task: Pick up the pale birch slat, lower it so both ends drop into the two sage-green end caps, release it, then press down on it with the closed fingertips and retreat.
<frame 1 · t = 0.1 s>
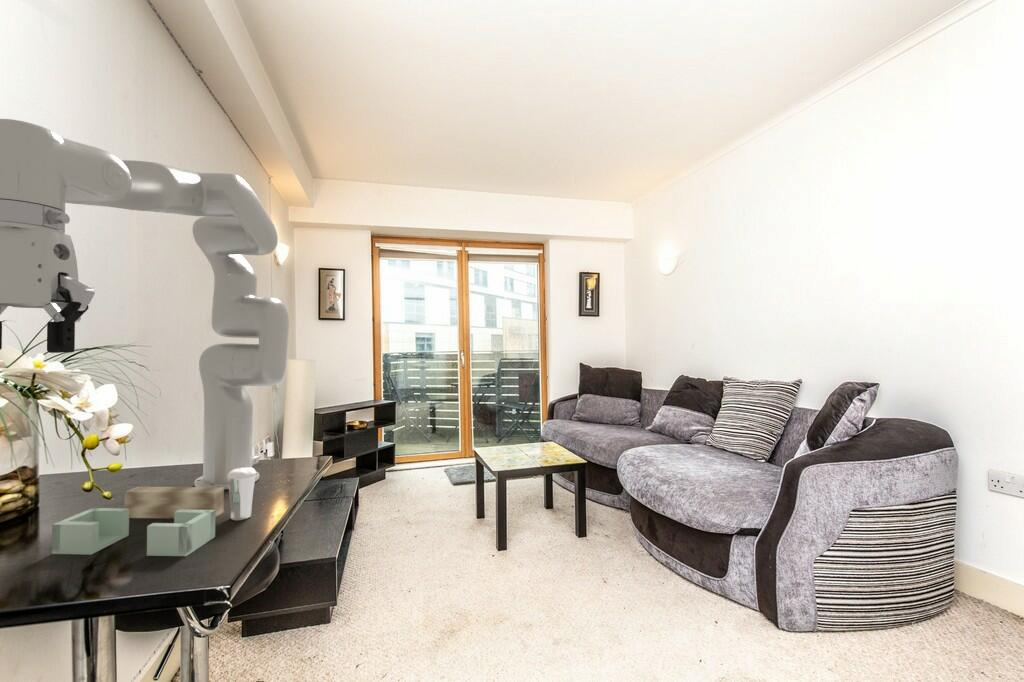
hand: (23, 351, 61), 31 cm above the table, tool pointing down, fingers open, 9 cm apart
milkshake: (241, 517, 87), on the table
endcap a: (92, 544, 74), on the table
endcap b: (182, 545, 74), on the table
slat: (174, 516, 87), on the table
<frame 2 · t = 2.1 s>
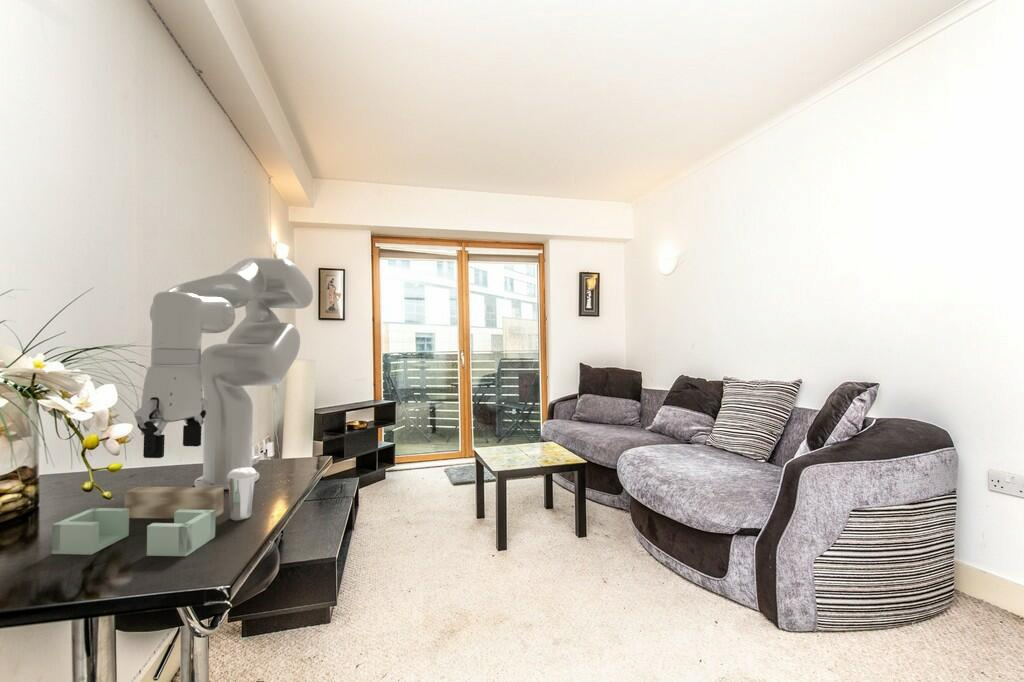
hand: (173, 451, 86), 12 cm above the table, tool pointing down, fingers open, 9 cm apart
nothing on the table moved.
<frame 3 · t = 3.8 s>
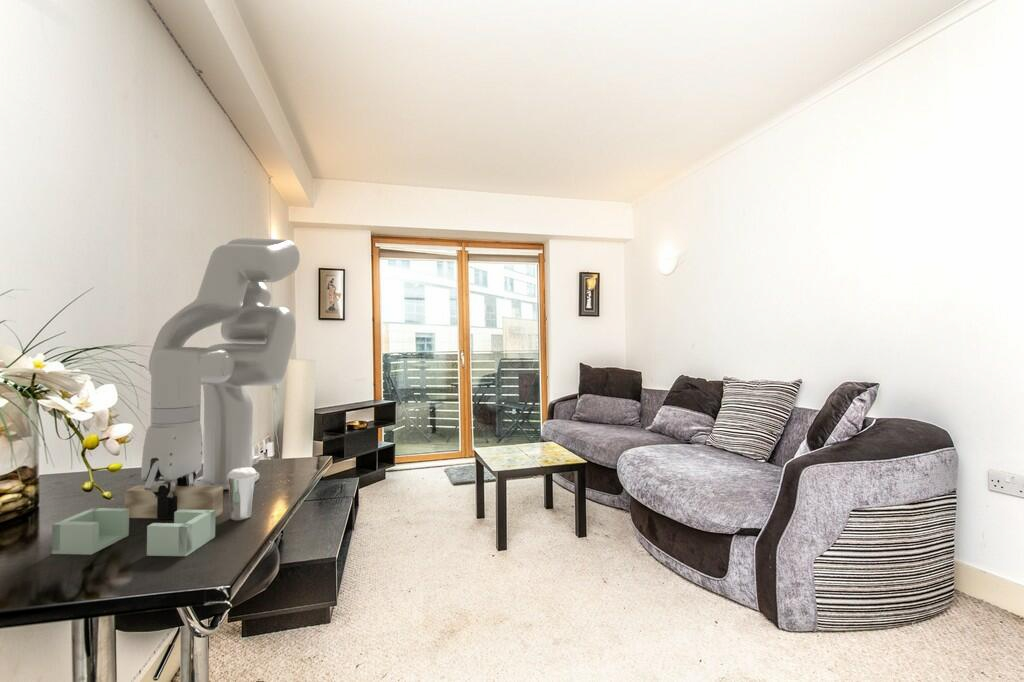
hand: (174, 513, 87), 0 cm above the table, tool pointing down, fingers closed on slat, 3 cm apart
slat: (174, 515, 87), on the table, touching gripper
everything else where it was.
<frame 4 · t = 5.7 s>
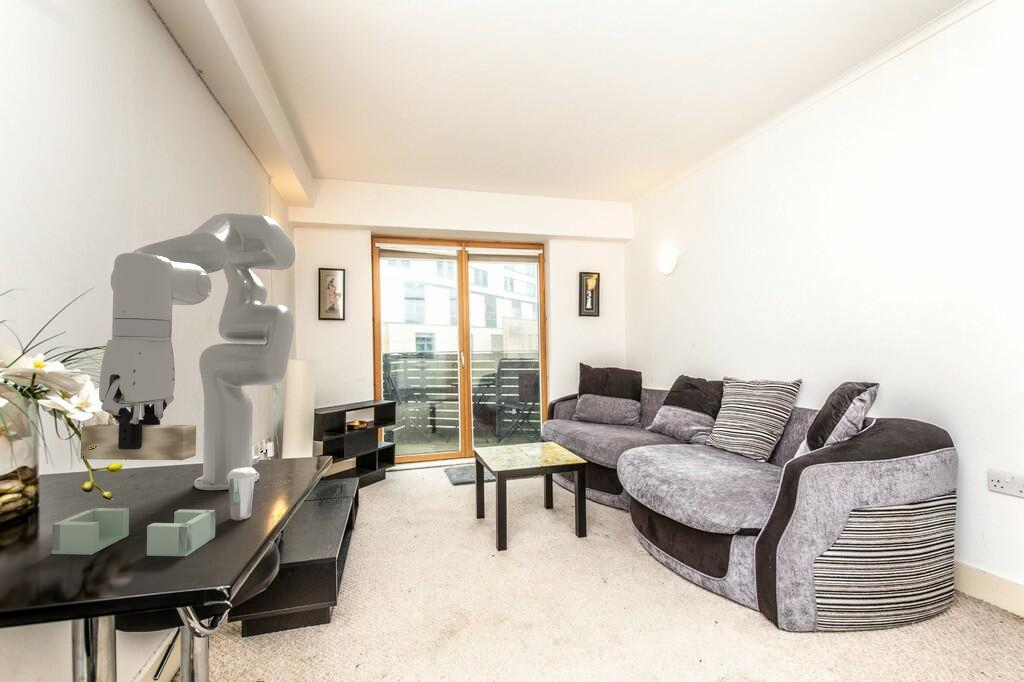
hand: (139, 445, 75), 16 cm above the table, tool pointing down, fingers closed on slat, 3 cm apart
slat: (139, 457, 75), point 14 cm above the table, touching gripper
everything else where it was.
when the fingers open (2 cm above the table, at t = 7.7 s): slat stays where it is, resting on endcap a, endcap b.
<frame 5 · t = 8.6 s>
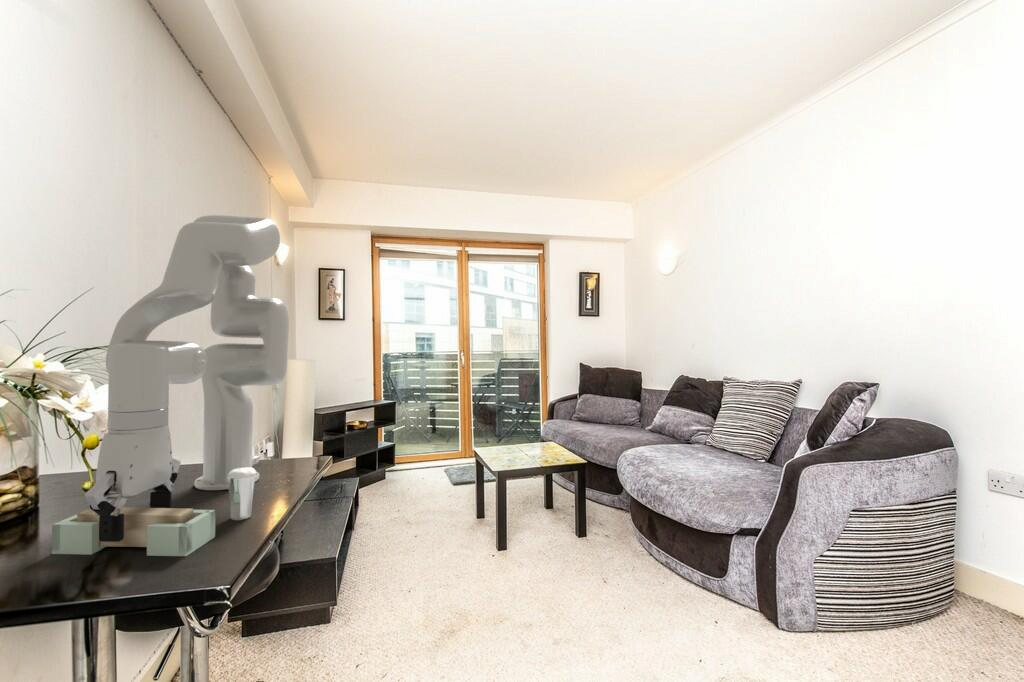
hand: (137, 527, 74), 3 cm above the table, tool pointing down, fingers open, 9 cm apart
slat: (136, 542, 74), resting on endcap a, endcap b
everything else where it was.
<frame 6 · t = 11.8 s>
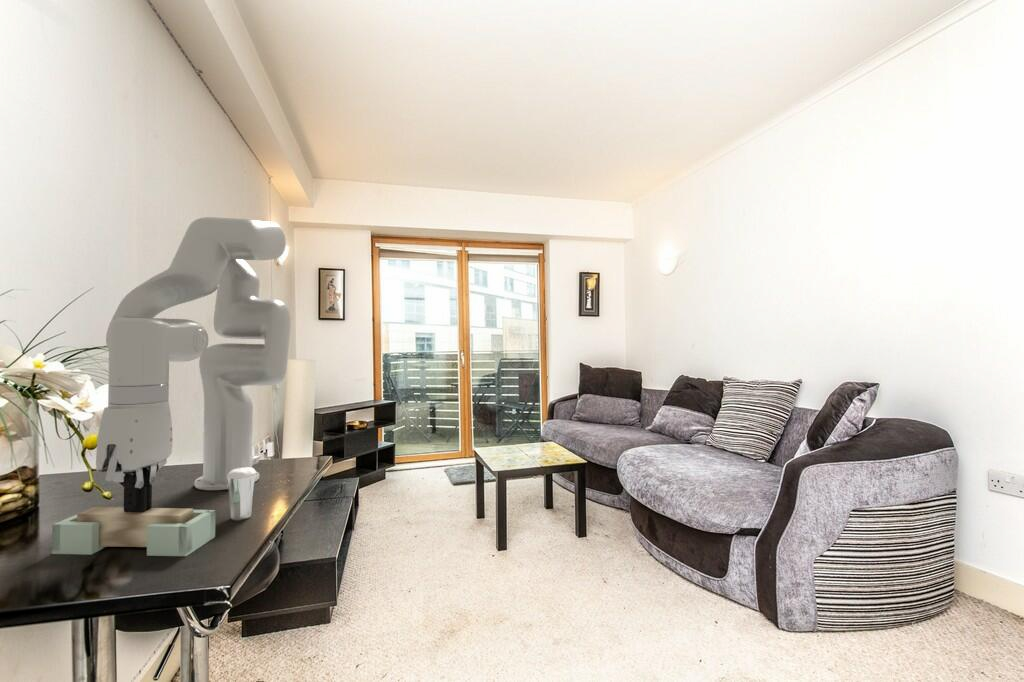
hand: (137, 510, 74), 6 cm above the table, tool pointing down, fingers closed
slat: (136, 542, 74), on the table, touching endcap a, endcap b, gripper
everything else where it was.
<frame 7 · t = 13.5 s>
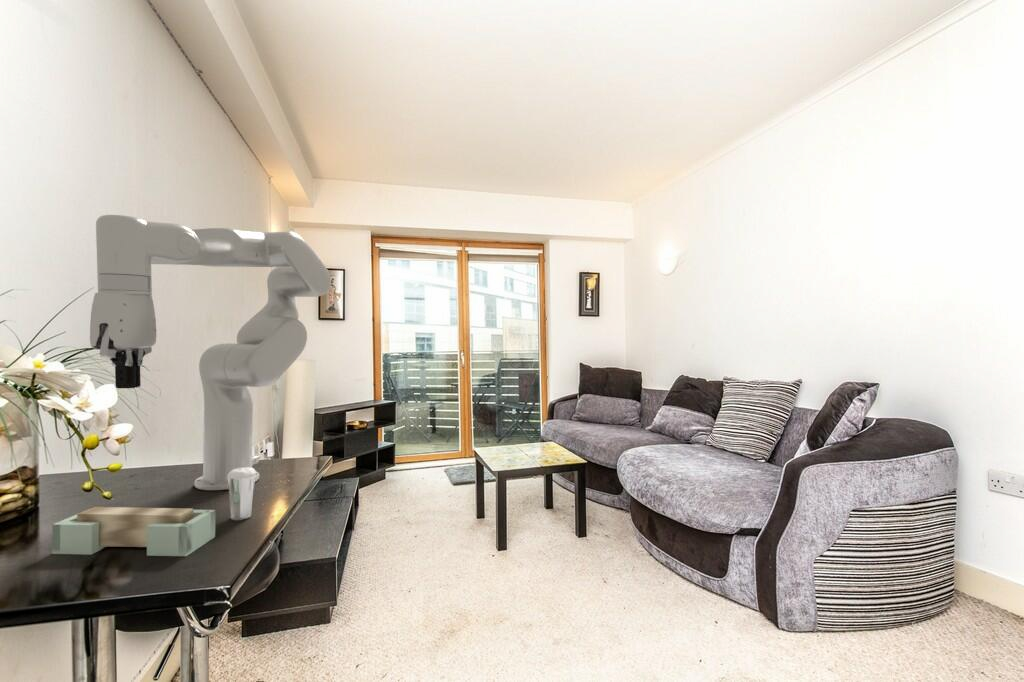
hand: (128, 387, 85), 24 cm above the table, tool pointing down, fingers closed
slat: (136, 542, 74), resting on endcap a, endcap b
everything else where it was.
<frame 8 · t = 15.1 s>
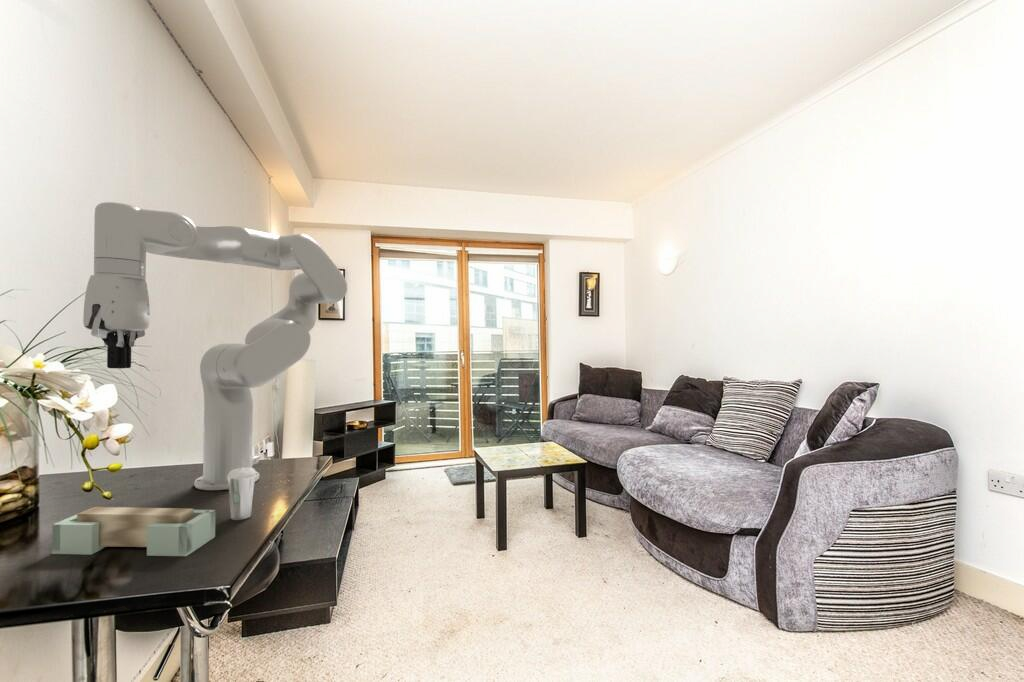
hand: (119, 367, 88), 27 cm above the table, tool pointing down, fingers closed
nothing on the table moved.
at the end: slat 0.2 cm from the target spot, point 0.5 cm above the table; slat tilted 0°; the gripper is holding nothing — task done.
